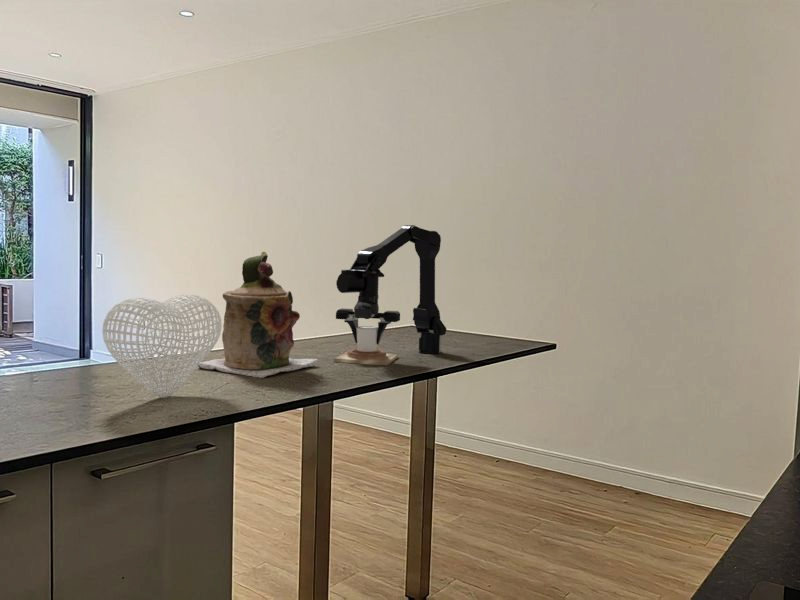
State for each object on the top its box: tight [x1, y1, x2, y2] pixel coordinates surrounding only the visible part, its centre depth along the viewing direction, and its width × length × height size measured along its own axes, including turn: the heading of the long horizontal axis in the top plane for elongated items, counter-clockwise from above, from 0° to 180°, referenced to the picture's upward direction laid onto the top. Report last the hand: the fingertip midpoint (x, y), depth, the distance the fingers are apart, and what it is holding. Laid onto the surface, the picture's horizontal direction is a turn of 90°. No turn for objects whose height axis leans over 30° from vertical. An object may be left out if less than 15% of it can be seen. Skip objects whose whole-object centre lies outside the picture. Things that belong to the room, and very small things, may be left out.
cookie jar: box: [197, 251, 319, 379], centre depth 196 cm, size 25×25×32 cm
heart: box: [102, 294, 222, 399], centre depth 155 cm, size 28×16×22 cm, turn 153°
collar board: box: [333, 348, 398, 366], centre depth 216 cm, size 16×15×2 cm
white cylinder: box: [356, 325, 378, 352], centre depth 215 cm, size 7×7×7 cm
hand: (367, 343), depth 215 cm, fingers closed on white cylinder, 6 cm apart
